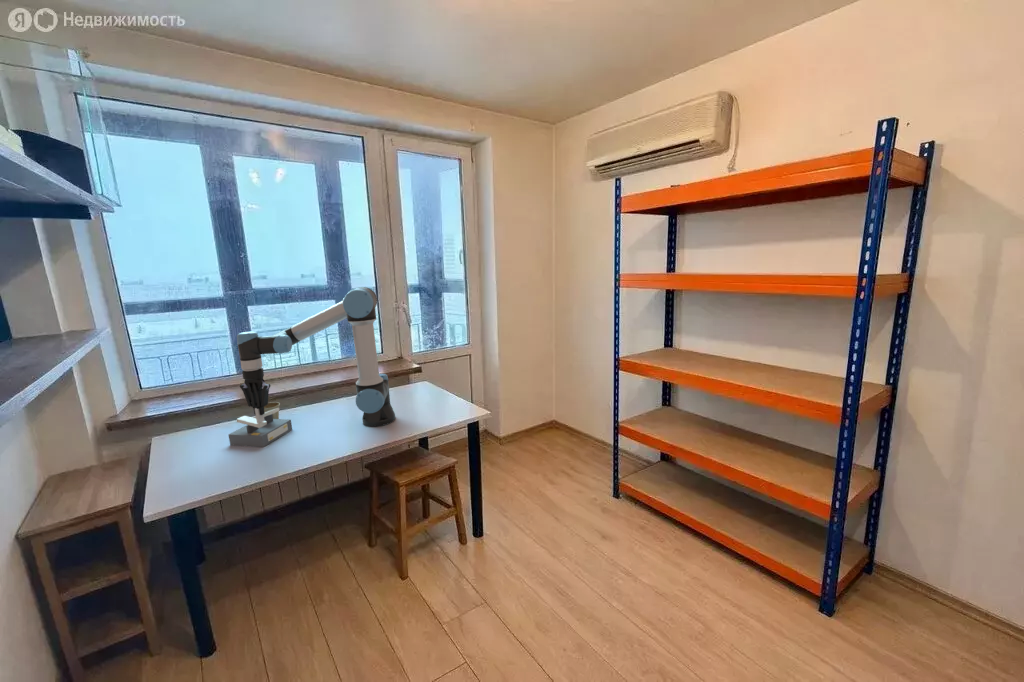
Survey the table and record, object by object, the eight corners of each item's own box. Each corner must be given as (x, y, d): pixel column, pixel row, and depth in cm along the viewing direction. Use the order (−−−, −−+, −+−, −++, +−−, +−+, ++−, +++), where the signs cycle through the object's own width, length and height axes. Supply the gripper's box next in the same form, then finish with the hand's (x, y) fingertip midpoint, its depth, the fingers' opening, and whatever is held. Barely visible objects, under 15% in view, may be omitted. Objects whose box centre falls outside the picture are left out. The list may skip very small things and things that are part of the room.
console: (293, 429, 191) (290, 413, 189) (264, 447, 173) (261, 429, 172) (261, 428, 193) (259, 411, 192) (230, 445, 176) (227, 427, 174)
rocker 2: (279, 410, 187) (278, 407, 187) (273, 413, 183) (272, 410, 183) (260, 417, 189) (259, 414, 189) (254, 420, 185) (252, 417, 185)
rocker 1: (266, 424, 179) (266, 421, 178) (259, 428, 175) (259, 425, 174) (244, 418, 180) (244, 415, 180) (236, 421, 176) (236, 419, 176)
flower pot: (256, 424, 199) (253, 407, 197) (274, 417, 207) (272, 400, 205) (267, 427, 195) (265, 410, 193) (286, 420, 203) (284, 403, 201)
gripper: (272, 366, 174) (280, 418, 179) (245, 366, 176) (254, 417, 181) (259, 371, 167) (267, 425, 172) (231, 370, 169) (240, 424, 174)
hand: (260, 421), depth 176 cm, fingers closed
